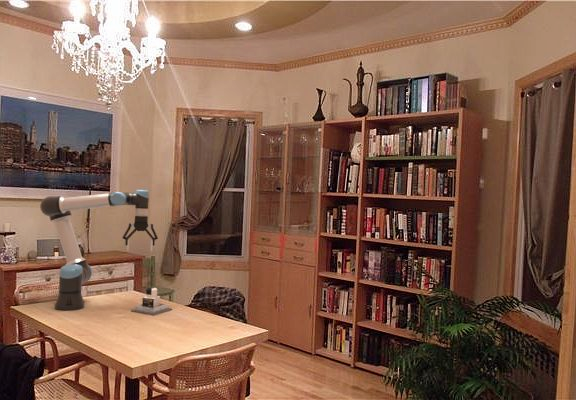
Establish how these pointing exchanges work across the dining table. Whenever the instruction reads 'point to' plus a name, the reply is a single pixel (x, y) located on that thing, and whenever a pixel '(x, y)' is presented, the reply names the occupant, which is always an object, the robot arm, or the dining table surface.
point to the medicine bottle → (151, 298)
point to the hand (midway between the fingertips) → (139, 251)
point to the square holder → (151, 309)
